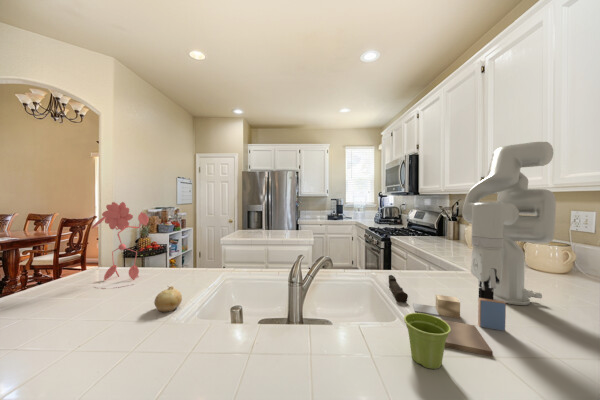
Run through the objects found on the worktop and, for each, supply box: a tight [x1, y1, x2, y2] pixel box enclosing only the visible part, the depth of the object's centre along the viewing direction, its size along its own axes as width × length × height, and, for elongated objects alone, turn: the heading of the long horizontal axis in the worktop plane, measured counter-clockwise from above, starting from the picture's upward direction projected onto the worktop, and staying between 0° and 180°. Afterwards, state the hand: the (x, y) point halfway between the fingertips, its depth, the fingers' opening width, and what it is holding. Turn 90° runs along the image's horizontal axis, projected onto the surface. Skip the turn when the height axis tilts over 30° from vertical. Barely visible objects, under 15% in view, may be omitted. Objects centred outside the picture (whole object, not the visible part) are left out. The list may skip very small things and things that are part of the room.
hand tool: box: [388, 274, 409, 303], centre depth 91 cm, size 19×4×5 cm, turn 169°
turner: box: [412, 294, 461, 319], centre depth 76 cm, size 13×6×5 cm, turn 69°
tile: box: [477, 297, 507, 332], centre depth 67 cm, size 6×2×8 cm, turn 69°
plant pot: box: [403, 312, 451, 370], centre depth 53 cm, size 9×9×9 cm
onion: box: [153, 285, 183, 313], centre depth 76 cm, size 8×8×7 cm
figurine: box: [91, 201, 150, 290], centre depth 99 cm, size 15×26×35 cm, turn 89°
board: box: [442, 319, 494, 357], centre depth 62 cm, size 14×12×1 cm
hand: (485, 302), depth 70 cm, fingers closed
